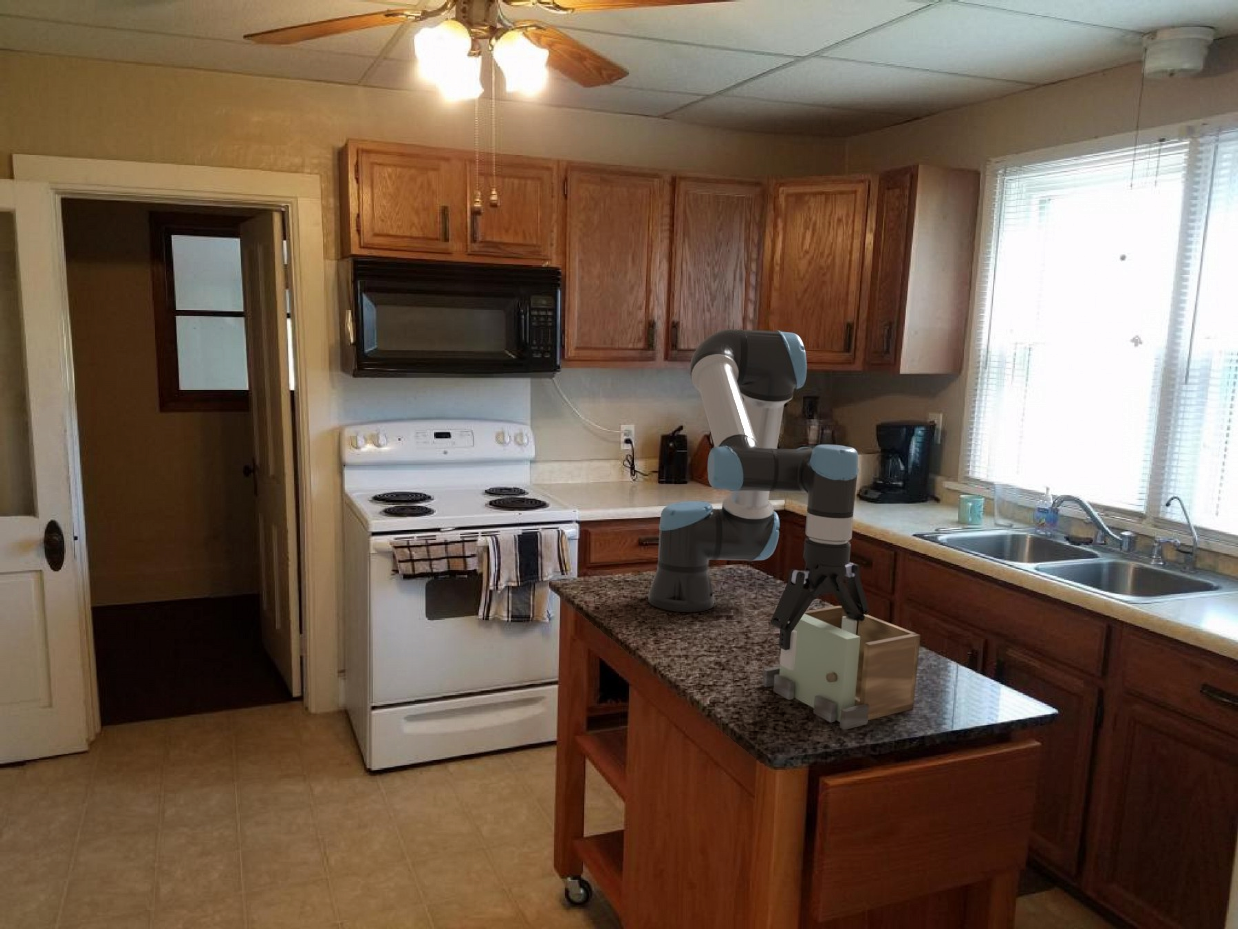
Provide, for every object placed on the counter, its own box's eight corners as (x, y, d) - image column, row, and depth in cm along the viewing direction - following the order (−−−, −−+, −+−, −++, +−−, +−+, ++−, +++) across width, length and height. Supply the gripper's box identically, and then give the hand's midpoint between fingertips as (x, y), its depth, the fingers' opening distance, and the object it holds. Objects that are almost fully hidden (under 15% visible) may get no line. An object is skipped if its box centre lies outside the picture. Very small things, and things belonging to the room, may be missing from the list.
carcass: (762, 685, 158) (767, 614, 156) (832, 670, 167) (838, 603, 165) (844, 730, 141) (850, 651, 139) (917, 710, 150) (925, 636, 148)
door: (773, 690, 156) (778, 613, 154) (791, 686, 159) (797, 610, 157) (834, 723, 144) (841, 640, 142) (853, 718, 146) (860, 636, 144)
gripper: (864, 528, 157) (854, 643, 160) (754, 539, 144) (745, 664, 147) (897, 537, 151) (886, 657, 154) (785, 550, 138) (775, 681, 141)
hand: (817, 661), depth 151 cm, fingers open, 13 cm apart
